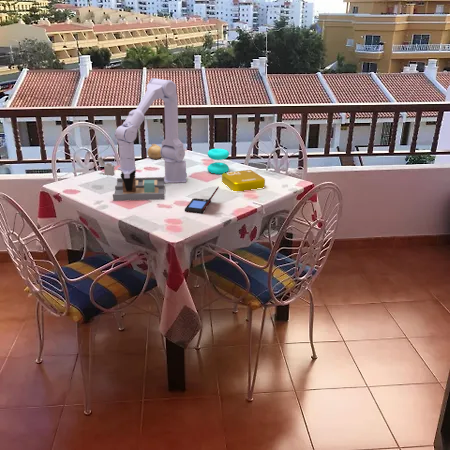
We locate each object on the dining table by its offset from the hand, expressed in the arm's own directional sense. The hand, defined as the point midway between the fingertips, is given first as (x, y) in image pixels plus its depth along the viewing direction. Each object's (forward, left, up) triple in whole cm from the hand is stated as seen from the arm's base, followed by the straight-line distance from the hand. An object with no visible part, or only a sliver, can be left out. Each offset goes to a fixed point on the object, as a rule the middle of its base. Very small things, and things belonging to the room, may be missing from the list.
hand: (129, 189), depth 192 cm
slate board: (-4, -5, -3) cm, 7 cm away
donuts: (-39, -29, -3) cm, 48 cm away
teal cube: (-8, 0, -1) cm, 8 cm away
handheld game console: (-28, +14, -3) cm, 32 cm away
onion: (-10, -52, -3) cm, 53 cm away
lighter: (+12, -28, -3) cm, 30 cm away
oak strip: (-4, 0, -2) cm, 5 cm away
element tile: (-48, -10, -3) cm, 49 cm away
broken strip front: (0, -10, -2) cm, 10 cm away
